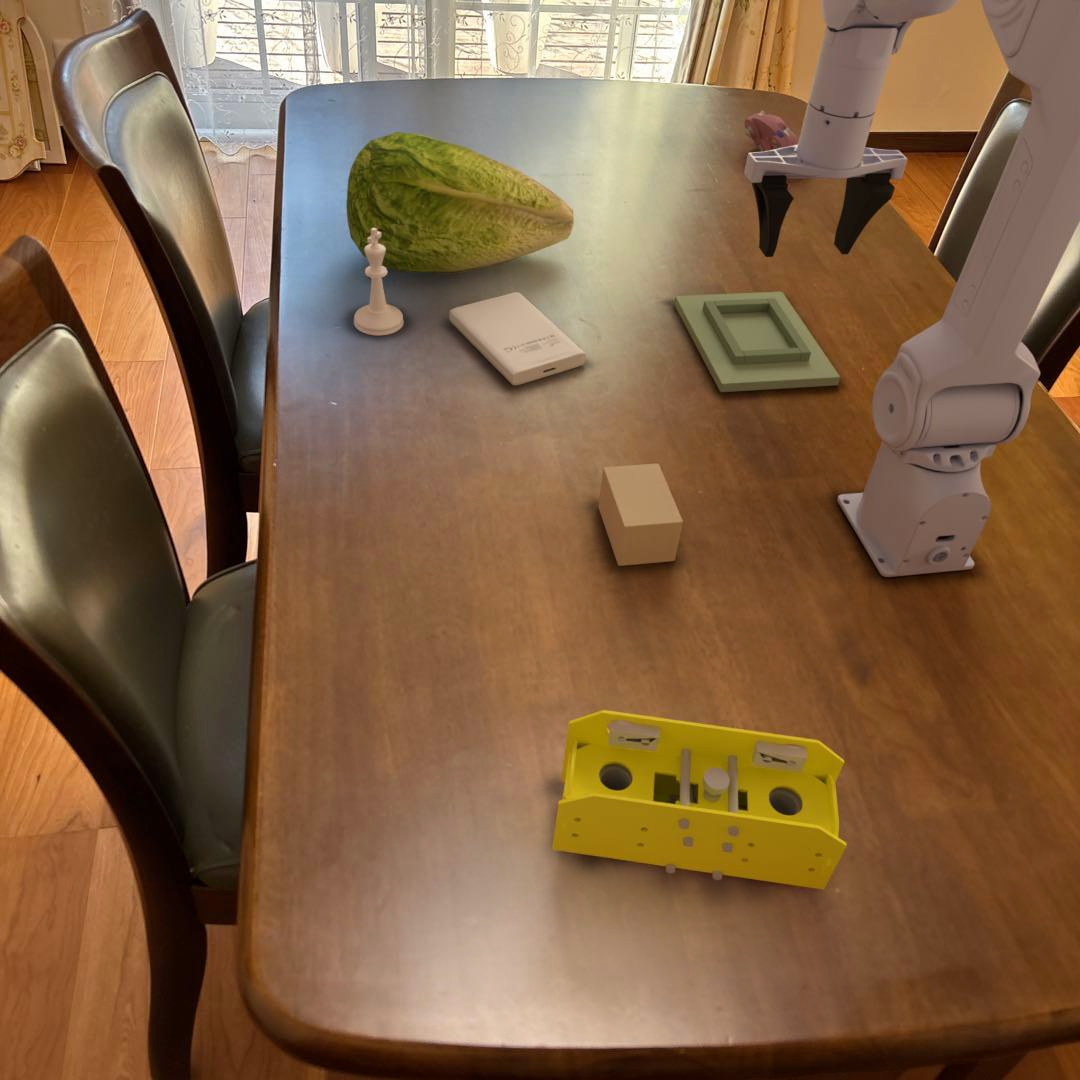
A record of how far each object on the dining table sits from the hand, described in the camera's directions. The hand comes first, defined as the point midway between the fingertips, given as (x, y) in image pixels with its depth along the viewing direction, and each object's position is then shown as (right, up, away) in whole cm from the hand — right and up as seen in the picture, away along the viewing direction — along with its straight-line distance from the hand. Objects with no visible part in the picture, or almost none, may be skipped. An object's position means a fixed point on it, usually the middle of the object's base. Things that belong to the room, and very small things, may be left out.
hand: (803, 250), depth 97 cm
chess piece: (-41, -6, +5) cm, 42 cm away
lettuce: (-34, +3, +15) cm, 37 cm away
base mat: (-4, -8, +6) cm, 11 cm away
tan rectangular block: (-17, -27, -15) cm, 36 cm away
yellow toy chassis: (-16, -46, -35) cm, 60 cm away
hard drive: (-27, -8, +4) cm, 29 cm away
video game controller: (+6, +23, +40) cm, 47 cm away
